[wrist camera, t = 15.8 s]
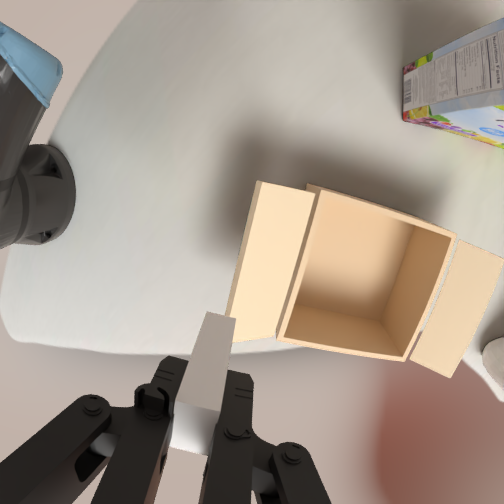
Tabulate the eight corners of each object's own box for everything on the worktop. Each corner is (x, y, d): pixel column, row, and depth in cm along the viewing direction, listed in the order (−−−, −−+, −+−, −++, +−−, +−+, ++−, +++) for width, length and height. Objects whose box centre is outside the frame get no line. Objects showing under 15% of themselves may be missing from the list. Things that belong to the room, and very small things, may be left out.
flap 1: (273, 336, 32) (268, 331, 33) (315, 193, 28) (308, 191, 28) (223, 344, 28) (218, 338, 29) (262, 182, 24) (255, 179, 25)
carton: (274, 301, 42) (276, 340, 32) (307, 183, 37) (321, 189, 28) (379, 323, 42) (404, 361, 32) (418, 217, 38) (457, 234, 28)
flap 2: (450, 378, 29) (450, 374, 30) (504, 259, 25) (503, 258, 26) (409, 359, 32) (410, 356, 33) (459, 239, 28) (459, 239, 29)
